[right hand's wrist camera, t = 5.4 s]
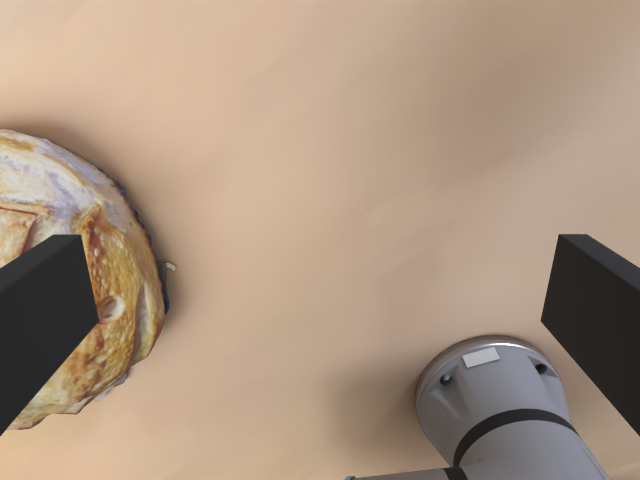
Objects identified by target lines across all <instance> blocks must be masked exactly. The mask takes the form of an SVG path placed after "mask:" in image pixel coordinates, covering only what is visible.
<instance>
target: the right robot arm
mask: <svg viewBox="0 0 640 480" xmlns="http://www.w3.org/2000/svg"><path fill="white" fill-rule="evenodd" d="M98 322H99V317H98V312H97V308H96V303H95V298H94V293H93V288H92V284H91V279H90V274H89V269H88V265H87V260H86V255H85V250H84V246H83V241H82V236H81V234H53V235H52V236H50V237H48V238H47V239H45V240H44V241H42V242H41V243H39V244H37V245H36V246H34V247H33V248H31V249H30V250H28V251H26V252H25V253H23V254H22V255H20V256H19V257H17V258H15V259H14V260H12V261H11V262H9V263H8V264H6V265H4V266H3V267H1V268H0V436H1V435H2V434H3V433H4V431H5V430H6V429H7V428H8V427H9V426H10V424H11V423H12V422H13V421H14V420H15V419H16V417H17V416H18V415H19V414H20V413H21V412H22V410H23V409H24V408H25V407H26V406H27V405H28V404H29V402H30V401H31V400H32V399H33V398H34V397H35V395H36V394H37V393H38V392H39V391H40V390H41V388H42V387H43V386H44V385H45V384H46V383H47V381H48V380H49V379H50V378H51V377H52V376H53V374H54V373H55V372H56V371H57V370H58V369H59V367H60V366H61V365H62V364H63V363H64V362H65V360H66V359H67V358H68V357H69V356H70V355H71V353H72V352H73V351H74V350H75V349H76V348H77V346H78V345H79V344H80V343H81V342H82V341H83V339H84V338H85V337H86V336H87V335H88V334H89V333H90V331H91V330H92V329H93V328H94V327H95V326H96V324H97V323H98ZM541 322H542V323H543V324H544V326H545V327H546V328H547V329H548V330H549V331H550V333H551V334H552V335H553V336H554V337H555V338H556V339H557V341H558V342H559V343H560V344H561V345H562V346H563V348H564V349H565V350H566V351H567V352H568V353H569V355H570V356H571V357H572V358H573V359H574V360H575V362H576V363H577V364H578V365H579V366H580V367H581V369H582V370H583V371H584V372H585V373H586V374H587V376H588V377H589V378H590V379H591V380H592V381H593V383H594V384H595V385H596V386H597V387H598V388H599V390H600V391H601V392H602V393H603V394H604V395H605V397H606V398H607V399H608V400H609V401H610V402H611V404H612V405H613V406H614V407H615V408H616V409H617V410H618V412H619V413H620V414H621V415H622V416H623V417H624V419H625V420H626V421H627V422H628V423H629V424H630V426H631V427H632V428H633V429H634V430H635V431H636V433H637V434H638V435H639V436H640V268H639V267H637V266H636V265H634V264H632V263H631V262H629V261H628V260H626V259H625V258H623V257H621V256H620V255H618V254H617V253H615V252H614V251H612V250H610V249H609V248H607V247H606V246H604V245H603V244H601V243H599V242H598V241H596V240H595V239H593V238H592V237H590V236H588V235H587V234H559V236H558V241H557V246H556V250H555V255H554V260H553V265H552V269H551V274H550V279H549V284H548V288H547V293H546V298H545V303H544V308H543V312H542V317H541ZM415 405H416V410H417V414H418V418H419V421H420V425H421V427H422V430H423V431H424V433H425V435H426V436H427V438H428V439H429V440H430V441H431V443H432V444H433V445H434V446H435V448H436V449H437V450H438V452H439V453H440V454H441V455H442V457H443V458H444V459H445V461H446V462H447V463H448V464H449V466H450V468H441V469H432V470H423V471H415V472H406V473H397V474H388V475H380V476H371V477H362V478H355V476H348V477H347V478H346V479H345V480H610V478H609V477H608V475H607V474H606V473H605V471H604V470H603V468H602V467H601V465H600V464H599V463H598V461H597V460H596V458H595V457H594V456H593V454H592V453H591V451H590V450H589V449H588V447H587V446H586V444H585V443H584V441H583V440H582V439H581V437H580V436H579V435H578V433H577V432H576V430H575V429H574V427H573V425H572V421H571V417H570V413H569V409H568V405H567V401H566V397H565V393H564V389H563V385H562V381H561V379H560V376H559V374H558V373H557V371H556V370H555V368H554V367H553V366H552V364H551V363H550V362H549V360H548V359H547V358H546V357H545V355H544V354H543V353H542V352H541V351H539V350H538V349H537V348H535V347H534V346H532V345H531V344H529V343H527V342H524V341H522V340H519V339H516V338H512V337H506V336H484V337H477V338H473V339H469V340H466V341H463V342H461V343H458V344H456V345H454V346H452V347H450V348H448V349H447V350H445V351H444V352H442V353H441V354H440V355H438V356H437V357H436V358H435V359H434V360H433V361H432V362H431V363H430V364H429V365H428V367H427V368H426V369H425V370H424V372H423V374H422V375H421V377H420V379H419V382H418V385H417V388H416V393H415Z"/></svg>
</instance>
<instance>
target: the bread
mask: <svg viewBox="0 0 640 480" xmlns="http://www.w3.org/2000/svg"><path fill="white" fill-rule="evenodd" d="M124 195H125V189H124V188H123V187H121V186H120V184H119V183H118V182H117V181H114V180H112V179H109V178H108V177H107V175H106V174H104V173H103V172H102V170H101V169H99V168H97V167H96V166H94V165H93V164H91V163H89V162H88V161H86V160H85V159H83V158H81V157H79V156H77V155H75V154H73V153H72V152H70V151H68V150H66V149H64V148H62V147H60V146H58V145H55V144H53V143H52V142H50V141H49V140H47V139H45V138H39V137H34V136H30V135H26V134H23V133H20V132H16V131H13V130H7V129H2V130H0V268H1V267H3V266H4V265H6V264H8V263H9V262H11V261H12V260H14V259H15V258H17V257H19V256H20V255H22V254H23V253H25V252H26V251H28V250H30V249H31V248H33V247H34V246H36V245H37V244H39V243H41V242H42V241H44V240H45V239H47V238H48V237H50V236H52V235H53V234H81V236H82V241H83V246H84V250H85V255H86V260H87V265H88V269H89V274H90V279H91V284H92V288H93V293H94V298H95V303H96V308H97V312H98V317H99V322H98V323H97V324H96V326H95V327H94V328H93V329H92V330H91V331H90V333H89V334H88V335H87V336H86V337H85V338H84V339H83V341H82V342H81V343H80V344H79V345H78V346H77V348H76V349H75V350H74V351H73V352H72V353H71V355H70V356H69V357H68V358H67V359H66V360H65V362H64V363H63V364H62V365H61V366H60V367H59V369H58V370H57V371H56V372H55V373H54V374H53V376H52V377H51V378H50V379H49V380H48V381H47V383H46V384H45V385H44V386H43V387H42V388H41V390H40V391H39V392H38V393H37V394H36V395H35V397H34V398H33V399H32V400H31V401H30V402H29V404H28V405H27V406H26V407H25V408H24V409H23V410H22V412H21V413H20V414H19V415H18V416H17V417H16V419H15V420H14V421H13V422H12V423H11V424H10V426H9V427H8V428H7V429H18V430H22V429H30V428H32V427H34V426H35V425H37V424H39V423H40V422H41V421H42V420H43V419H44V418H45V417H46V416H48V415H50V414H78V413H79V412H80V411H81V410H82V409H83V407H85V406H86V405H87V404H88V403H90V402H91V401H92V400H93V399H94V400H95V401H102V399H103V398H104V396H105V394H106V393H107V392H108V391H109V390H110V389H112V388H114V387H116V386H118V385H120V384H122V383H124V382H125V379H126V375H127V374H126V372H127V370H128V369H129V368H130V367H131V366H133V365H134V364H136V363H138V362H139V361H141V360H143V359H144V358H146V357H147V356H148V355H149V353H150V352H151V350H152V348H153V347H154V344H155V342H156V340H157V338H158V336H159V334H160V332H161V329H162V327H163V323H164V315H165V314H166V313H167V312H168V310H169V300H168V296H167V291H166V284H165V275H166V269H167V268H170V269H172V270H173V271H175V269H176V267H175V266H174V265H172V264H170V263H160V262H158V260H157V259H156V258H155V254H154V252H153V250H152V248H151V237H150V235H149V233H148V231H147V230H146V228H145V227H144V225H143V224H142V223H141V222H140V221H139V220H138V214H137V212H136V211H134V210H132V209H131V203H130V202H128V201H127V200H126V199H125V198H124ZM7 429H6V430H7Z"/></svg>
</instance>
